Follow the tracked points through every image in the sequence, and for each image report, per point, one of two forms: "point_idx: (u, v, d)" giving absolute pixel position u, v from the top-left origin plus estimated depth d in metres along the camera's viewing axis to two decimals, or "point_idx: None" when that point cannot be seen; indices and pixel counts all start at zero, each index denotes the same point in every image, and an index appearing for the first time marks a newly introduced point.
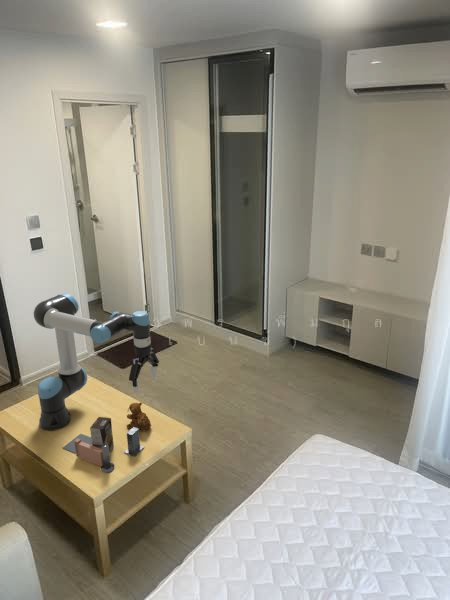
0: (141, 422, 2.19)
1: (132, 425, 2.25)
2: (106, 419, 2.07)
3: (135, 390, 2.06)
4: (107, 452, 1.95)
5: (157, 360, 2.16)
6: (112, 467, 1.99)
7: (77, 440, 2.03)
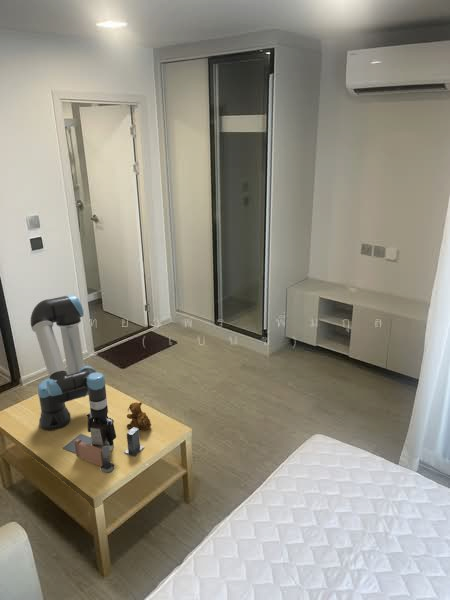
0: (141, 422, 2.19)
1: (132, 425, 2.25)
2: None
3: None
4: (107, 452, 1.95)
5: (111, 437, 2.02)
6: (112, 467, 1.99)
7: (77, 440, 2.03)
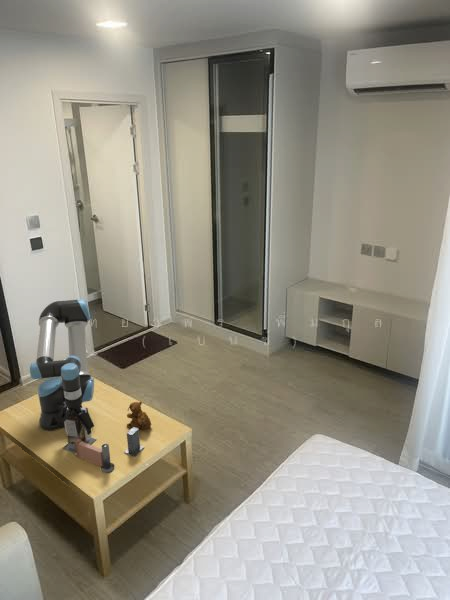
0: (141, 421, 2.20)
1: (132, 424, 2.25)
2: None
3: None
4: (107, 452, 1.95)
5: (88, 425, 2.05)
6: (112, 467, 1.99)
7: (77, 440, 2.03)
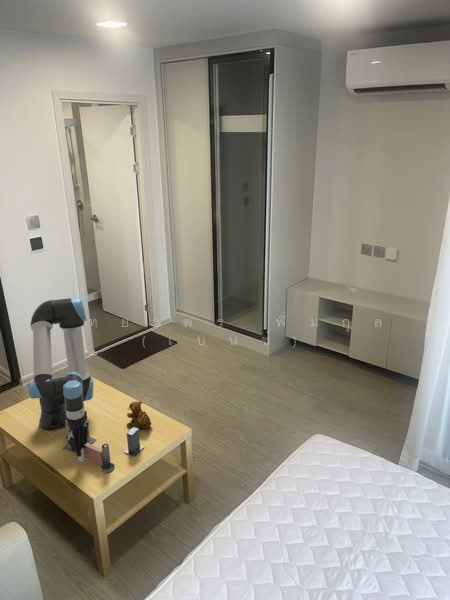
0: (142, 421, 2.20)
1: (132, 424, 2.26)
2: None
3: (79, 459, 2.00)
4: (107, 452, 1.95)
5: (86, 439, 2.00)
6: (112, 467, 1.99)
7: None
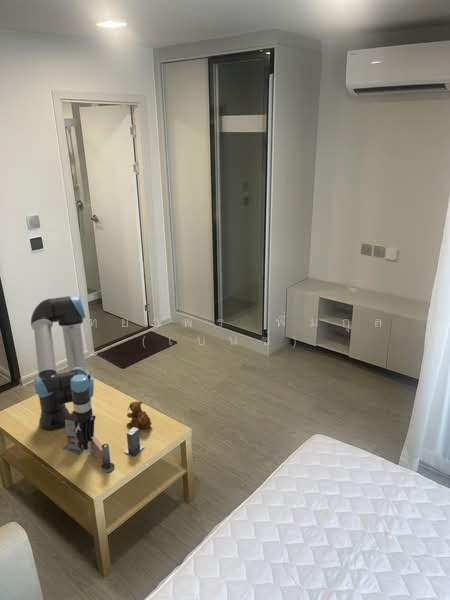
0: (142, 420, 2.20)
1: (132, 424, 2.26)
2: None
3: (86, 452, 2.04)
4: (107, 452, 1.95)
5: (93, 433, 2.04)
6: (112, 467, 1.99)
7: None
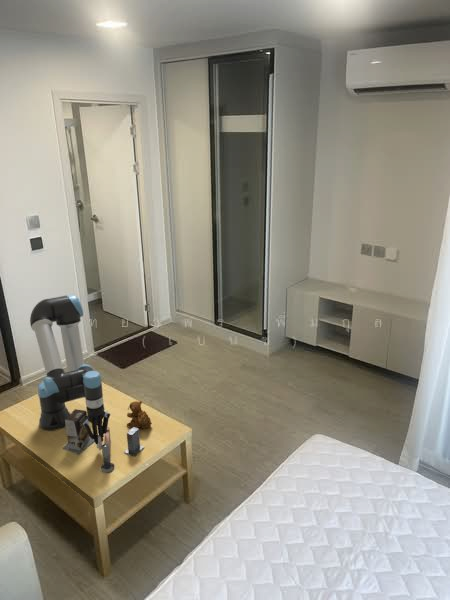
0: (142, 420, 2.20)
1: (132, 424, 2.26)
2: (81, 412, 2.11)
3: (97, 447, 2.08)
4: (107, 452, 1.95)
5: (105, 429, 2.06)
6: (112, 467, 1.99)
7: None
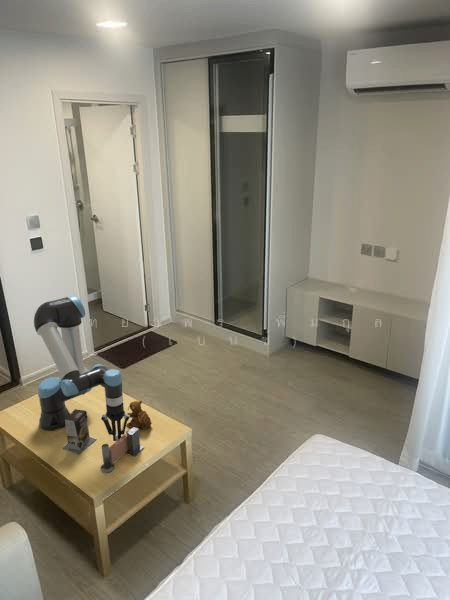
0: (142, 420, 2.21)
1: (132, 423, 2.26)
2: (81, 412, 2.11)
3: None
4: (107, 452, 1.95)
5: (123, 431, 2.06)
6: (112, 467, 1.99)
7: (128, 430, 2.09)
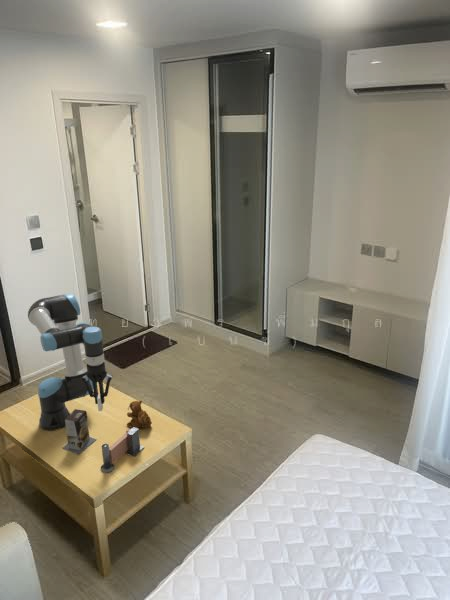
0: (142, 420, 2.21)
1: (132, 423, 2.26)
2: (81, 412, 2.11)
3: None
4: (107, 452, 1.95)
5: (106, 393, 1.96)
6: (112, 467, 1.99)
7: (128, 430, 2.09)
